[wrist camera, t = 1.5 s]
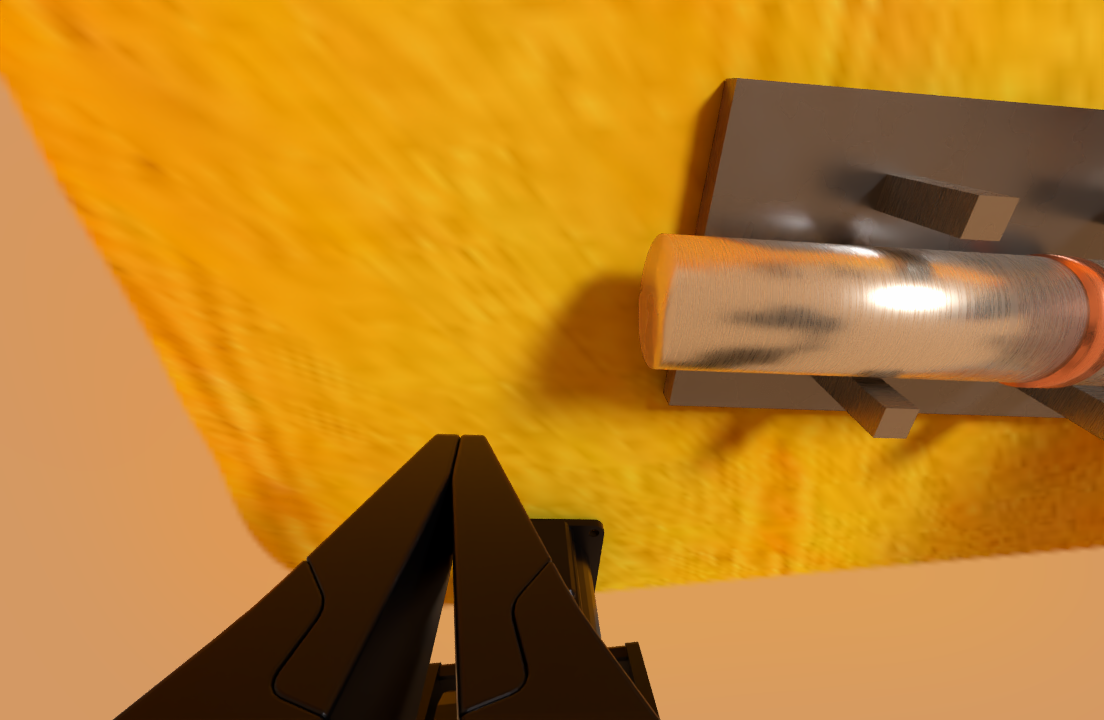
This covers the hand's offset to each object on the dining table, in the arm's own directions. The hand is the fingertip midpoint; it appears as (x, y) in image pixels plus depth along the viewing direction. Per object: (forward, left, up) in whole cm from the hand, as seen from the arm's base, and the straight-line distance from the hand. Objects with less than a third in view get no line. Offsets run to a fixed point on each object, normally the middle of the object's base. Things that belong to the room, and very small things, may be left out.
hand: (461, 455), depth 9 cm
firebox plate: (+1, -17, -12) cm, 21 cm away
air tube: (0, -13, -11) cm, 17 cm away
